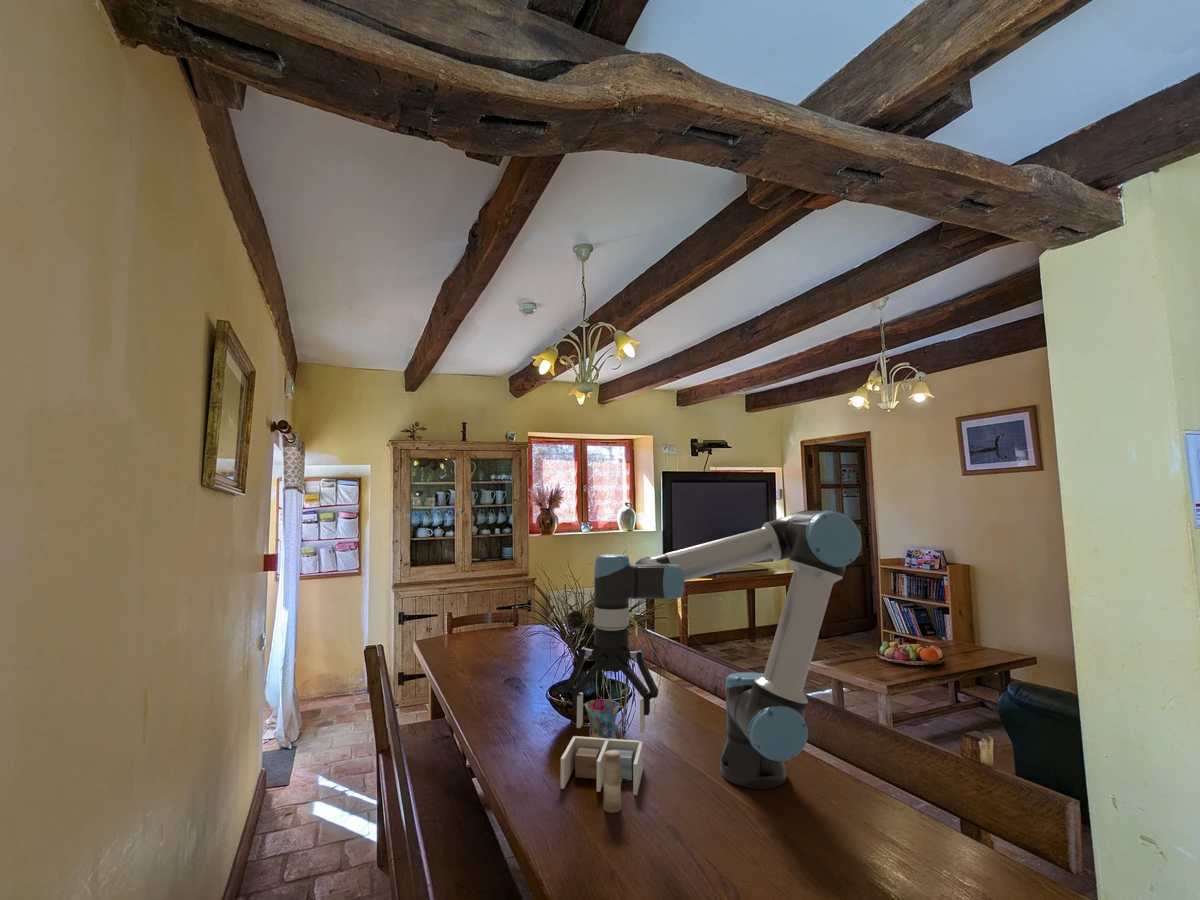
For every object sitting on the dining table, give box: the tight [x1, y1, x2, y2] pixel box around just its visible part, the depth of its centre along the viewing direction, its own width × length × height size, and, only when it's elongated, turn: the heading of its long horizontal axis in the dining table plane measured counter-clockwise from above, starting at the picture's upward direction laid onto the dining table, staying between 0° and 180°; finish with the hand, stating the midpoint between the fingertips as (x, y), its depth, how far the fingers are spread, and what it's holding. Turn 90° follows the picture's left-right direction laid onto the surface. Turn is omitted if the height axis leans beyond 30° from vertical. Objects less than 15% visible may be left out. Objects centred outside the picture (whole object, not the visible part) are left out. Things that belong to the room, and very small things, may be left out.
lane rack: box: [560, 735, 644, 796], centre depth 136 cm, size 13×17×6 cm
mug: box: [584, 698, 627, 739], centre depth 155 cm, size 12×9×11 cm
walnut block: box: [574, 747, 600, 780], centre depth 139 cm, size 5×5×5 cm
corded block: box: [603, 748, 634, 814], centre depth 131 cm, size 20×5×11 cm, turn 170°
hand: (610, 728), depth 124 cm, fingers open, 13 cm apart
